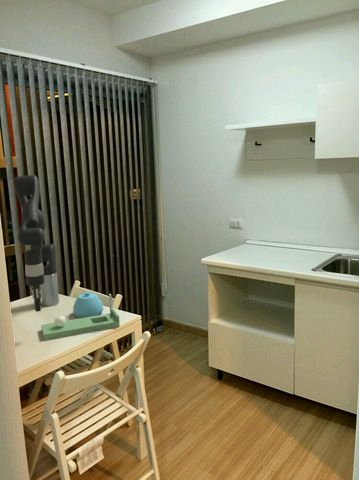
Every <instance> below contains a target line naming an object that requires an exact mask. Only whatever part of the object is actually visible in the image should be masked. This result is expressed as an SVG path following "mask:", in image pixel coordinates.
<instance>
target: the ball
mask: <svg viewBox="0 0 359 480" xmlns="http://www.w3.org/2000/svg"><path fill="white" fill-rule="evenodd" d="M66 321H67V319H66V318H65V316H63V315H58V316H57V317H56V318H55V319H54V323H55V325H56V326H58V327H62V326H64V325H65V323H66Z"/></svg>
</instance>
